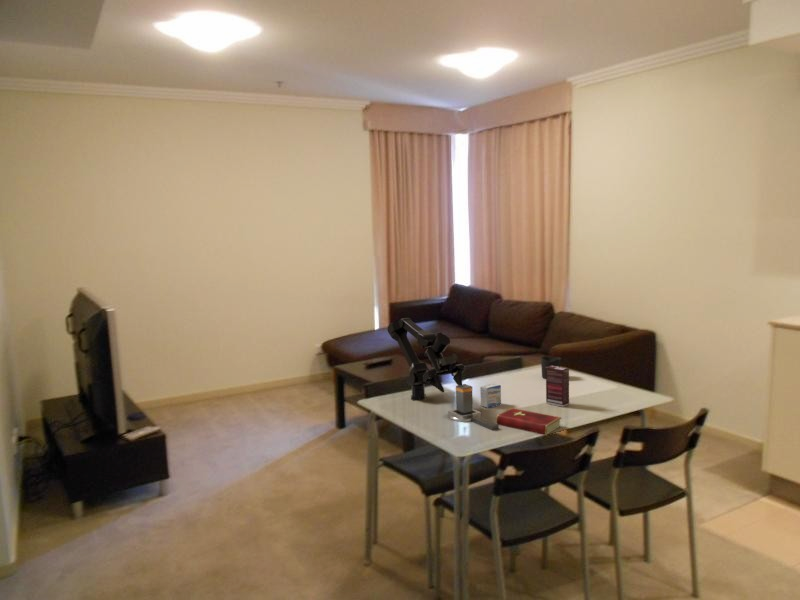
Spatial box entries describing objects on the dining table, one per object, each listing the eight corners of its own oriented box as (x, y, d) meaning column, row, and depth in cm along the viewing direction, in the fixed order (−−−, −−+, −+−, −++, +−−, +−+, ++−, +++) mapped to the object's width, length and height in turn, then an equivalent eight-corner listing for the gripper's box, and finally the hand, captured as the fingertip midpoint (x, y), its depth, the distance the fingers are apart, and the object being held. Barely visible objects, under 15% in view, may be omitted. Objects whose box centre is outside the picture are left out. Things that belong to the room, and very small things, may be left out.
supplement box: (569, 404, 255) (569, 367, 253) (563, 407, 251) (563, 370, 249) (551, 401, 261) (551, 364, 259) (545, 403, 257) (545, 367, 255)
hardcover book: (546, 436, 219) (546, 425, 219) (496, 425, 233) (496, 414, 232) (561, 427, 228) (561, 416, 228) (512, 417, 242) (511, 407, 241)
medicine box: (487, 408, 253) (487, 388, 252) (480, 405, 257) (480, 386, 256) (501, 404, 258) (501, 384, 257) (494, 402, 261) (494, 382, 260)
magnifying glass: (443, 415, 245) (443, 410, 245) (467, 410, 251) (467, 405, 251) (483, 432, 224) (482, 427, 224) (507, 426, 230) (507, 421, 230)
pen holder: (550, 381, 293) (550, 361, 292) (537, 377, 301) (537, 357, 300) (564, 378, 297) (564, 358, 296) (551, 374, 306) (551, 355, 304)
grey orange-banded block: (456, 414, 244) (455, 385, 242) (465, 412, 246) (465, 383, 245) (463, 417, 240) (463, 388, 238) (472, 415, 242) (472, 386, 241)
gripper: (425, 351, 246) (442, 383, 238) (462, 345, 256) (479, 376, 248) (415, 366, 254) (431, 398, 246) (451, 359, 263) (467, 390, 255)
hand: (452, 390), depth 248 cm, fingers open, 9 cm apart
